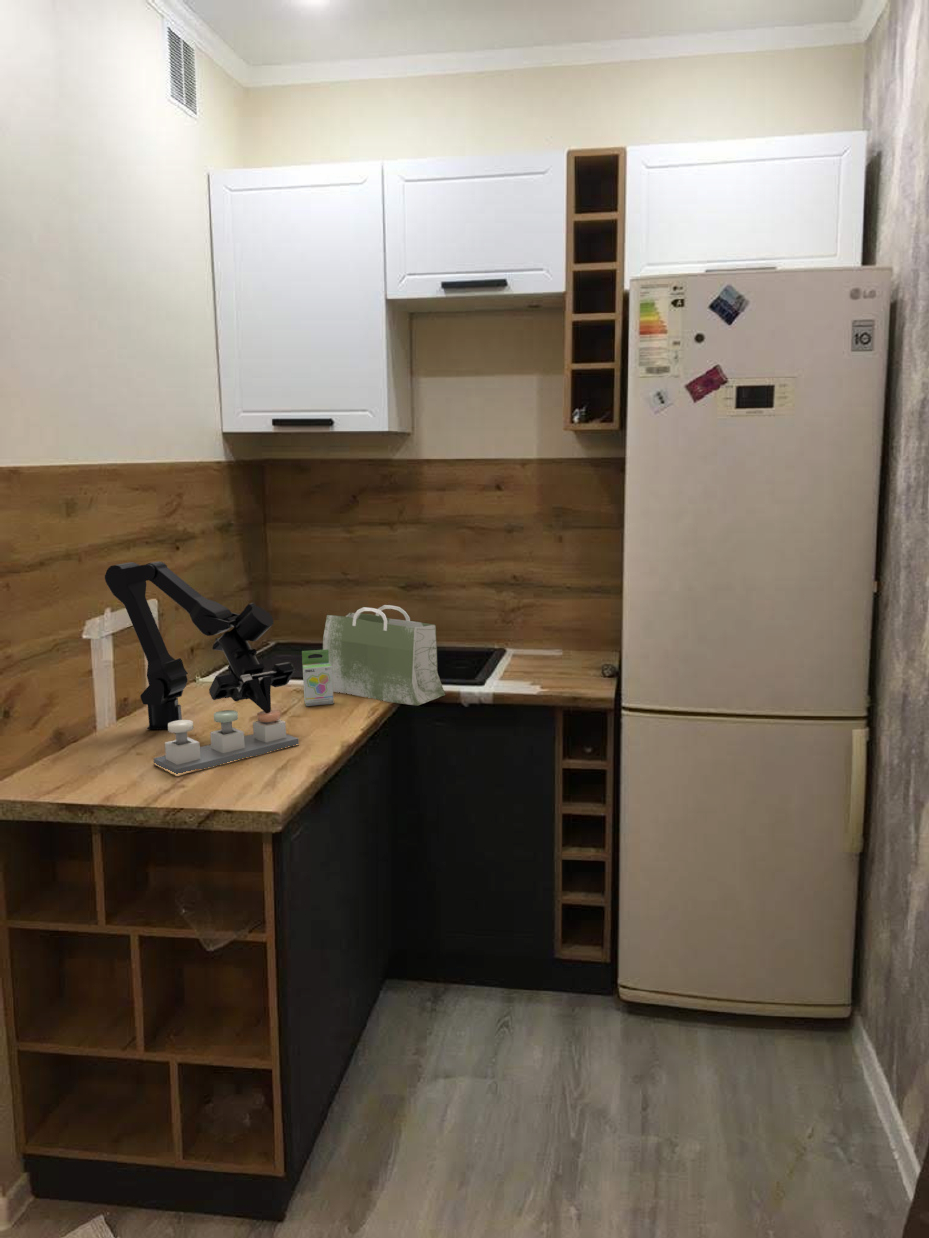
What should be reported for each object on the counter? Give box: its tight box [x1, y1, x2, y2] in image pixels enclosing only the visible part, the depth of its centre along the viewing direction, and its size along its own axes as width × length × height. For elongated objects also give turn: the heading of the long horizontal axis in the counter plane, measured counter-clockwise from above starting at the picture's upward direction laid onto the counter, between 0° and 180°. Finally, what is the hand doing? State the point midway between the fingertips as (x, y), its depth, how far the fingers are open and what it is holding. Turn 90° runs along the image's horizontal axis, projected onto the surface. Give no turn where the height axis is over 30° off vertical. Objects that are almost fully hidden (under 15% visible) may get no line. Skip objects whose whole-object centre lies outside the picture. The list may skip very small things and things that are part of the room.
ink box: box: [301, 649, 335, 707], centre depth 235 cm, size 7×4×13 cm, turn 105°
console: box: [153, 719, 300, 774], centre depth 196 cm, size 10×28×5 cm, turn 132°
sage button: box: [213, 709, 239, 735], centre depth 195 cm, size 5×5×5 cm
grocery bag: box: [321, 604, 446, 706], centre depth 244 cm, size 32×14×23 cm, turn 56°
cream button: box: [167, 719, 194, 746], centre depth 189 cm, size 5×5×5 cm
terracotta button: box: [256, 709, 281, 725], centre depth 202 cm, size 5×5×5 cm
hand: (268, 711), depth 202 cm, fingers closed, pressing on terracotta button
